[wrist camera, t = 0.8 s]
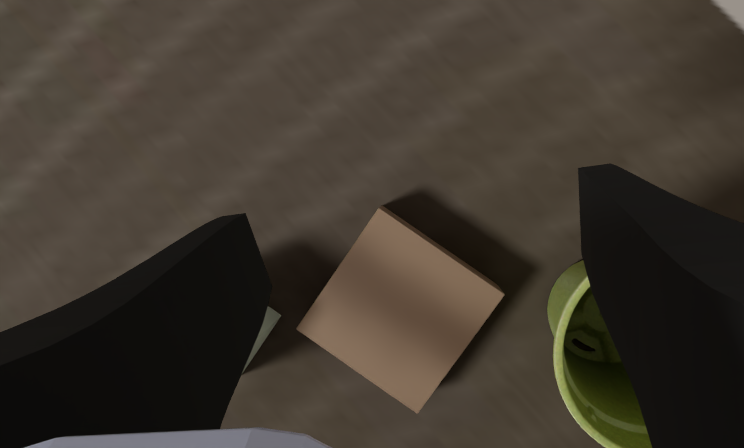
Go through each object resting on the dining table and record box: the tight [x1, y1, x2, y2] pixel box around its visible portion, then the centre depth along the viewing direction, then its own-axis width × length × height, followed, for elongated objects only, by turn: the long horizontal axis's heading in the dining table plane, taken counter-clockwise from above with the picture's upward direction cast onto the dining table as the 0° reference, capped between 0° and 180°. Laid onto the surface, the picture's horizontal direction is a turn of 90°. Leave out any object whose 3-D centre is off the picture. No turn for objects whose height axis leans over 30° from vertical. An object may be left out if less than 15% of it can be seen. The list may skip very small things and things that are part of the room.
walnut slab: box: [296, 206, 505, 414], centre depth 31 cm, size 8×8×3 cm
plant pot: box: [547, 260, 652, 448], centre depth 27 cm, size 9×9×9 cm
